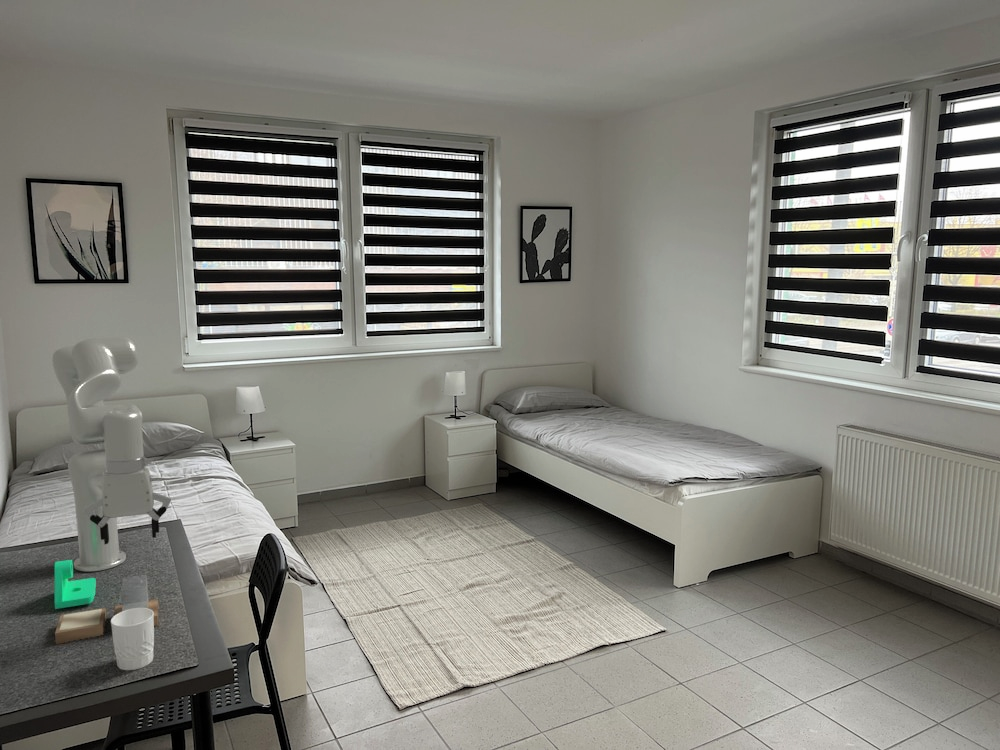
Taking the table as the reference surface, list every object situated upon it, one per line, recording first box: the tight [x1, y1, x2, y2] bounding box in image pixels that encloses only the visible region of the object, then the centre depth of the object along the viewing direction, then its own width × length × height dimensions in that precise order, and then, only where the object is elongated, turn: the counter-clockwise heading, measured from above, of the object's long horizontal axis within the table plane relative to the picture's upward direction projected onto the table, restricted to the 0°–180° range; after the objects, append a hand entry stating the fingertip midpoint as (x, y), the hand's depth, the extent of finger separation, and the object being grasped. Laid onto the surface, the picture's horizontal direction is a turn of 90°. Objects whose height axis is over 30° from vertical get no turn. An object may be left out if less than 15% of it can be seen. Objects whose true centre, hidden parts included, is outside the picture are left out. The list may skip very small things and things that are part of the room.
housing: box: [120, 574, 149, 611], centre depth 166 cm, size 7×5×7 cm
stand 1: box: [54, 607, 107, 645], centre depth 162 cm, size 9×9×3 cm
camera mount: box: [54, 559, 97, 610], centre depth 177 cm, size 12×8×10 cm, turn 25°
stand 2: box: [113, 598, 160, 627], centre depth 167 cm, size 9×9×2 cm
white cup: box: [110, 608, 155, 671], centre depth 149 cm, size 8×8×10 cm
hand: (130, 538), depth 164 cm, fingers open, 9 cm apart
